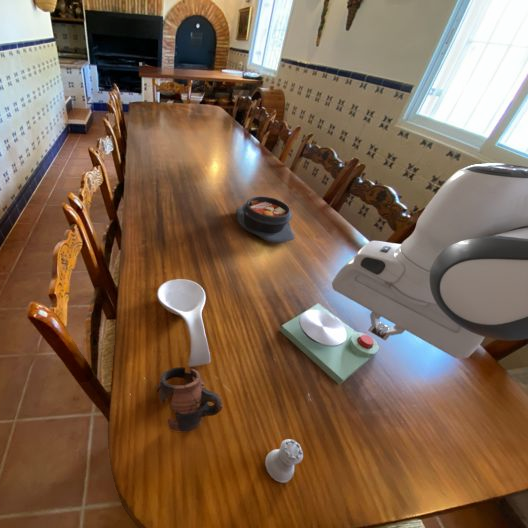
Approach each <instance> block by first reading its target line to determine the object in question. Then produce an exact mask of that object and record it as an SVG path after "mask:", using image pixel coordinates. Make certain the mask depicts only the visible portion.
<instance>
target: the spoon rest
mask: <svg viewBox="0 0 528 528" xmlns="http://www.w3.org/2000/svg"><path fill="white" fill-rule="evenodd" d="M156 296H157V299H158V302H159V303H160V304H161V306H162V307H163V308H164V309H165V310H167V311H168V312H169V313H172V314H173V315H174V314H175V315H177V316H179V317H180V318H182V320H184V322H185V324H186V325H187V326H186V327H187V330H188V333H189V338H190V339H189V340H190V353H189V354H190V355H189V359H188V363H187V364H188V367H191V368H192V367H198V366H204V365H209V364H210V363H211V353H210V349H209V344H208V339H207V335H206V330H205V325H204V321H203V315H202V314H203V313H202V312H203V309H204V307H205V305H206V298H207V297H206V292H205V290H204V289H203V286H201V285H200V284H198V283H197V282H196V281H193V280H190V279H184V278H178V279H171V280H168V281H165V282H163V283H162V284H161V285H160V286H159V288H158V289H157V294H156Z"/></svg>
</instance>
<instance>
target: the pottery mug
mask: <svg viewBox="0 0 528 528" xmlns="http://www.w3.org/2000/svg"><path fill="white" fill-rule="evenodd" d="M174 378H177V379H178V378H179V379H184V381H185V383H186V384H184V385H183V384H182V385H173V384H170V383H168V382H167V381H169V380H172V379H174ZM194 378H195V379H194ZM159 380H160V382H159V384H158V385H157V388H156V393H159V401H160V403H162V404H165V403H166V400H167V399H169V397H171V396H172V397H171V401H170V404H169V405H170V409H171V410H172V411H173V412H175V416H176V419H173V418H170V417H168V419H167V426H168V429H170V430H171V431H174V432H181V433H185V432H186V433H187V432H190V431H193V430H195V429H197V428H198V427H199V426H200V424H201V421H202V420H203V418H205V417H212V416H216V415H218V414H219V413H220V412H221V411H222V409H223V407H224V404H223V400H222V397H221V396H220V395H219V394H218V393H217V392H215V391H211V390H208V389H207V388H206V387H204V382H203V380H202V379H201V373H200V372H199V371H198V370H197V369H194V368H190V370H189V371H186V367H184V366H178V367H173V368H170V369H168V370H166V371H164V372H163V373H162V374H161V376H160V379H159ZM209 403H212V405H211V404H209ZM198 404H199V405H198Z"/></svg>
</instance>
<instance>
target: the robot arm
mask: <svg viewBox="0 0 528 528" xmlns="http://www.w3.org/2000/svg"><path fill="white" fill-rule="evenodd" d="M331 287H332V290H334V292H336V293H338V294H340V295H342V296H344V297H346V298H347V299H349V300H351V301H353V302H354V303H356V304H358V305H360V306H361V307H363V308H365V309H367V310H369V311H371V313H370V314H369V317H370V324H371V326H370V327H369V328H368V329H367V330H368V332H370V333H371V334H373V335H375V336H376V337H378V338H380V339H381V340H383V341H387V340H388V338H389V337H390V336H398V335H402V334H403V333H404V332H405V331H406V332H407V333H410V334H412V335H413V336H415V337H416V338H419V339H420V340H422V341H424V342H426V343H427V344H430V345H431V346H433V347H435V348H436V349H438V350H440V351H442V352H444V353H446V354H447V355H449V356H450V357H453V358H454V359H468V358H469V357H470V356H472V355H473V353H475V352H476V350H477V349H478V348H479V346H481V344H482V342H483V341H484V340H485V338H486V339H491V340H497V341H505V342H506V341H509V342H510V341H511V342H513V341H514V342H515V341H522V340H528V166H524V165H516V164H508V163H481V164H473V165H469V166H465V167H463V168H460V169H458V170H457V171H456V172H454V173H453V174H452V175H451V176H450V177H449V178H448V179H447V180H446V181H445V182H444V183H443V184H442V186H441V187H440V188H439V189H438V191H437V192H436V193H435V194H434V196H433V197H432V198H431V200H430V201H429V202H428V204H427V205H426V206H425V208H424V210H423V211H422V212H421V213H420V215H419V217H418V218H417V221H416V225H415V228H414V230H413V231H412V233H411V234H410V235H409V236H408V237H407V238H406V239H404V240H403V241H402V243H394V242H388V241H381V240H370V241H368V242H367V243H366V244H364V245H363V246H362V247H361V248H359V250H358V252H357V253H356V254H355V255H354V256H353V257H352V258H351V259H349V260H348V261H347V262H346V263H345V264H344V265H343V267H341V269H340V270H339V271H338V272H337V273H336V274H335V276H334V278H333V280H332V281H331ZM381 318H383V319H384V320H387V321H389V322H390V323H391V324H393V326H390V327H389V326H387V324H385V323H382V322H381V320H380V319H381Z"/></svg>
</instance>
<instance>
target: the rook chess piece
mask: <svg viewBox="0 0 528 528" xmlns="http://www.w3.org/2000/svg"><path fill="white" fill-rule="evenodd" d="M303 459H304V452H303V449H302V447H301V444H300V443H299V442H297V441H296V440H295V439H290V438H289V439H288V438H287V439H284V440H282V442H281V444H280V447H279V448H278V449H272V450H271V451H269V453H267V455H266V457H265V464H264V465H265V467H266V468H265V469H266V471H267V473H268V474H269V476H270V477H271V478H272V479H274V480H275V482H279V483H283V484H284V483H288V482H289V481H291V480H292V478H293V476H294V473H295V466H296V465H297V464H300V463H301V462H302V461H303Z"/></svg>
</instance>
